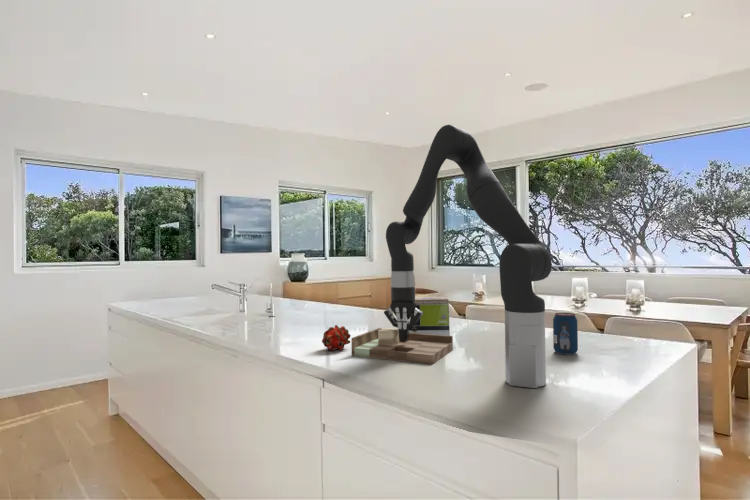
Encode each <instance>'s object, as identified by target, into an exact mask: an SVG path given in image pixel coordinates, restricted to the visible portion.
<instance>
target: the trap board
mask: <svg viewBox="0 0 750 500" xmlns="http://www.w3.org/2000/svg"><path fill="white" fill-rule="evenodd" d="M381 329H383V328H382V327H378V328H374V329H373V330H369V331H367V332H364V333H362V334H359V335H356V336H353V337H350V339H351V340H350V343H351V357H357V358H358V357H359V358H368V359H379V360H387V361H388V360H390V361H397V362H399V361H400V362H409V363H410V362H411V363H419V364H429V365H430V364H431V365H434V364H436V363H437V362H439V360H441V359H442V358H443V357H445V356H447V355H448V354H449V353H451V352H452V351H453V350H454V348H453V346H454V345H453V340H454V339H453V337H454V336H453V335H450V336H446V335H432V334H417V333H409V338H408V339H407V341H401V340H400V339H399V343H398V344H396V345H394V346H386V345H378V330H381Z"/></svg>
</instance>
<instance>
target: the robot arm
mask: <svg viewBox="0 0 750 500" xmlns="http://www.w3.org/2000/svg"><path fill="white" fill-rule="evenodd" d="M446 160H449V161H451V162H454V163H456V165H457V167H459V168H460V170H461V171H462V173H463V174H464V176H465V179H466V197H467V198H468V201H469V203H470V204H471V206H472V208H473V209H474V211H475V213H476V215H477V216H478V217H479V219H480V220H481V221H483V222H484V223H485V224H486V225H487V226H488V227H489V228H490V229H492V230H493V231H494V232H496V233H497V234H498V235H500V236H501V237H502V238H503V239H504V240H505V242H507V244H508V245H507V246H505V247H504V248H503V250H502V252H501V254H500V258H499V279H500V280H499V282H500V283H499V284H500V294H501V299H502V302H503V304H504V358H505V359H504V364H505V366H504V367H505V369H504V370H505V372H504V373H505V382H506V383H507V384H508V385H509V386H512V387H523V388H529V389H530V388H531V389H538V388H539V387H543V386H545V385H547V370H546V369H547V364H546V360H547V359H546V303H545V300H544V298H542V297H541V296H538V295H537V294H536V293H535V292H534V289H533V282H538V281H543V280H545V279H547V278H548V277H549V276H550V274H551V272H552V267H553V266H552V264H553V262H552V257H551V255H550V253H549V251H548V249H547V248H546V246H545V245H544V244H543V242H542V241H541V240H540V239H539V238H538V237H537V235H536V234H535V233H534V232H533V230H531V228H530V227H529V225H528V224H527V222H526V221H525V220H524V218H523V217H522V215H521V213H520V212H519V211H518V209H517V208H516V206H515V204H514V203H513V202H512V200H511V199H510V196H509V195H508V193H507V192H506V190H505V188H504V186H503V185H502V184H501V182H500V181H499V179H498V178H497V177H496V175H495V173H494V172H493V170H492V169H491V167H490V166H489V165H488V163H487V162H486V159H485V158H484V156H483V153H482V152H481V149H480V147H479V144H478V143H477V140H476V138H475V137H474V136H473V135H472V134H471V132H469V131H467V130H465V129H463V128H460V127H458V126H455V125H453V124H445V125H443V126H441V127H440V128H439V130H437V132H436V134H435V136H434V137H433V139H432V142H431V145H430V148H429V150H428V153H427V155H426V158H425V160H424V163H423V165H422V169H421V172H420V175H419V176H418V180H417V182H416V183H415V186H414V188H413V190H412V191H411V193H410V195H409V196H408V198H407V199H406V200H407V201H406V202H405V204H404V206H403V209H402V212H403V214H404V216H405V218H404V221H392V222H391V223H389V224H388V226H387V228H386V231H385V240H386V244H387V248H388V253H389V256H390V258H391V260H390V261H391V263H390V265H391V266H390V267H391V268H390V269H391V270H390V272H391V274H390V298H391V299H390V300H391V303H390V305H389V308H388V309H386V310H384V311H383V314H384V315H385V318H386V319H387V320H388V321H389V322H390V324H391V325H392V327H394V328H396V329H399V339H400V340H401V341H407V339H408V338H409V328H411V327H414V326H415V324H416V323H417V322H418V320H419V319H420V318H421V316H422V315H423V312H422V311H420V310H418V309H417V306H416V304H415V297H416V279H415V278H416V277H415V273H414V272H415V269H414V267H415V263H414V255H413V253H411V252H409V251H408V250H407V247H406V245H410V244H412V243H414V242H415V241H416V239H418V237H419V234H420V232H421V229H422V225H423V222H424V219H425V216H426V215H427V214H428V211H429V210H430V209H431V207H432V204H433V203H434V200H435V198H436V194H437V181H438V176H439V172H440V170H441V168H442V166H443V164H444V163H445V161H446ZM414 311H415V313H414ZM413 313H414V316H415V317H414V318H413V319H412V321H411V322H410V317H411V316H412V314H413Z"/></svg>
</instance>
